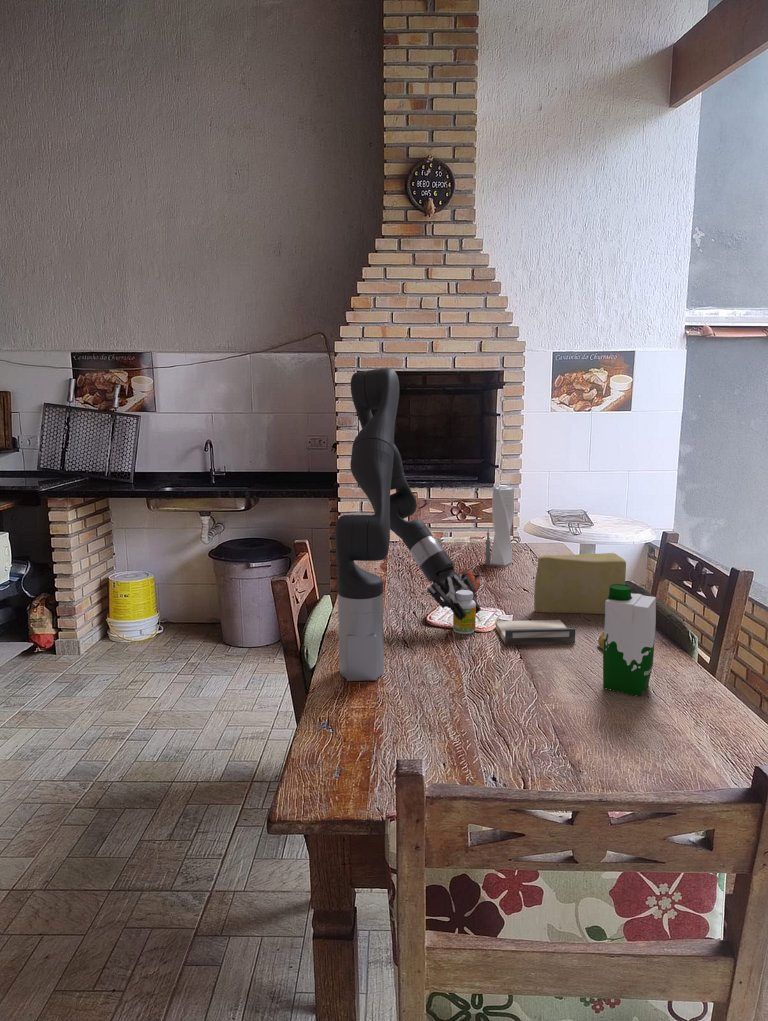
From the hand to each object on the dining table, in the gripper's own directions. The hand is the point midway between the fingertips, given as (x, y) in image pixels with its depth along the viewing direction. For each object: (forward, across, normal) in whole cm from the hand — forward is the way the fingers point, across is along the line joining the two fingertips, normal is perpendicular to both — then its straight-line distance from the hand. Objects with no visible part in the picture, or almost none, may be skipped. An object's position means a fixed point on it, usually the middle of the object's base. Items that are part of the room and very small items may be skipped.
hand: (470, 614), depth 166 cm
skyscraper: (-18, +60, +25) cm, 68 cm away
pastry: (+26, +13, -19) cm, 34 cm away
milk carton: (+32, -4, -25) cm, 41 cm away
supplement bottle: (+2, 0, +4) cm, 5 cm away
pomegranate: (-10, +24, +17) cm, 31 cm away
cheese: (+11, +32, -5) cm, 34 cm away
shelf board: (+12, +8, -6) cm, 16 cm away
